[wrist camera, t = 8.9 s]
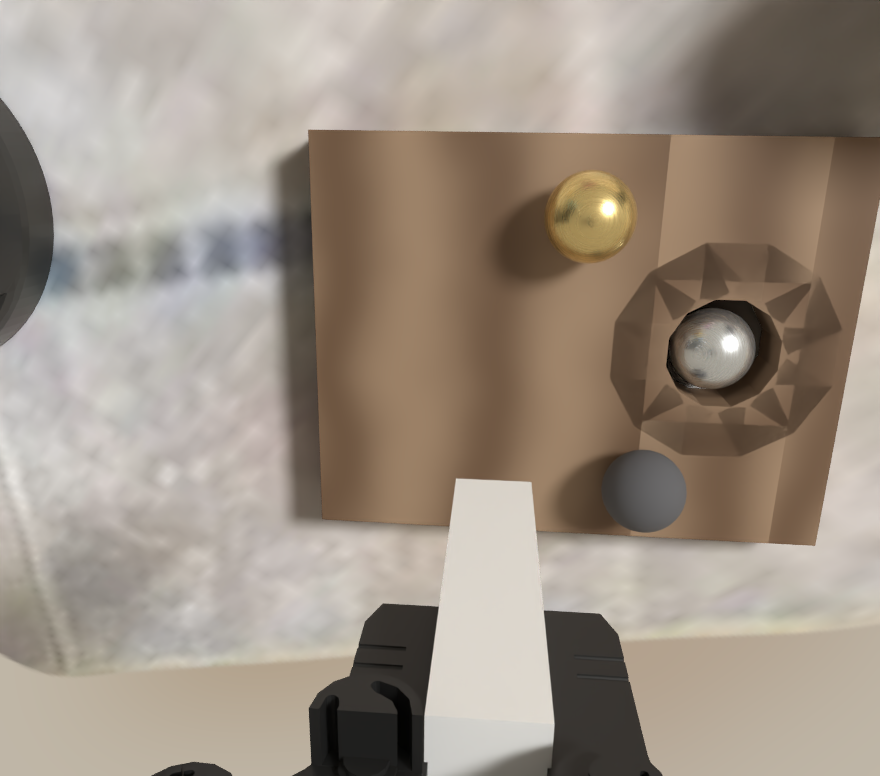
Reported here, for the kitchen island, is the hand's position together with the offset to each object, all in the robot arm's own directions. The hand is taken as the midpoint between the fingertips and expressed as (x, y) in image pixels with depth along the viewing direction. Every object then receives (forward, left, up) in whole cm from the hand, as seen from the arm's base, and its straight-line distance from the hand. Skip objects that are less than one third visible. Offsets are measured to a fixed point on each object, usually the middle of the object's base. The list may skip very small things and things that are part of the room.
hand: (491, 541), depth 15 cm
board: (+3, 0, -19) cm, 20 cm away
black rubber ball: (+6, -6, -15) cm, 17 cm away
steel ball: (+9, 0, -18) cm, 20 cm away
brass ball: (+3, +5, -15) cm, 16 cm away
